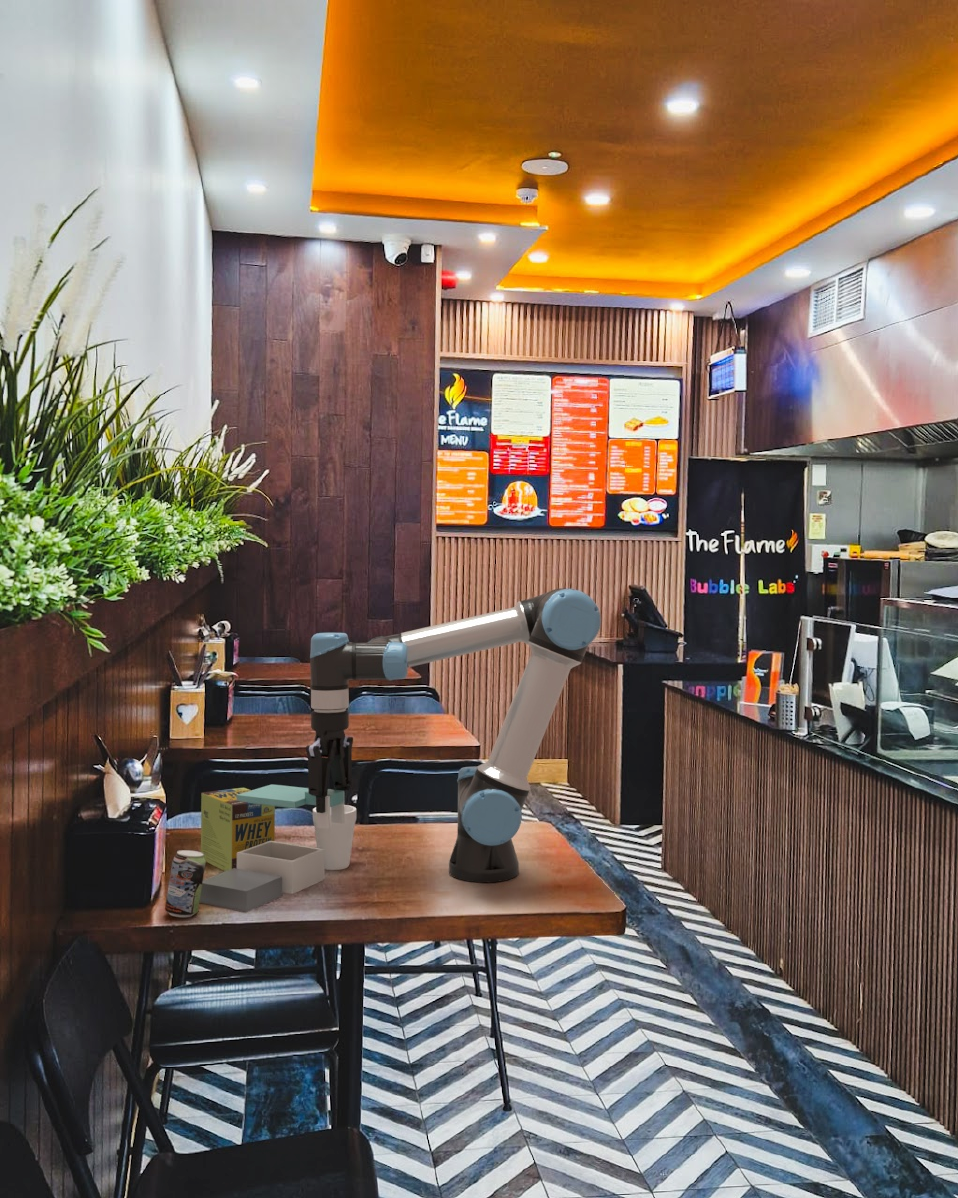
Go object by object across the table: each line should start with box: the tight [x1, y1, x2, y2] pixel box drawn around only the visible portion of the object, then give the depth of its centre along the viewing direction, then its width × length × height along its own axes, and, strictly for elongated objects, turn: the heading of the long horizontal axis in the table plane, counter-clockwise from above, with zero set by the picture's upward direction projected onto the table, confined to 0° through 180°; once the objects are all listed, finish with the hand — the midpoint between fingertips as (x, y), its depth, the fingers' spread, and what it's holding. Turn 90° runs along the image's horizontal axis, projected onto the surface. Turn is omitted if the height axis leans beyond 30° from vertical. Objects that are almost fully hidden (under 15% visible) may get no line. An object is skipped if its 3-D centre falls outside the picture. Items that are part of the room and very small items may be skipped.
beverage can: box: [164, 849, 207, 918], centre depth 198 cm, size 6×7×12 cm
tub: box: [237, 840, 325, 895], centre depth 218 cm, size 14×11×7 cm
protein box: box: [200, 787, 276, 872], centre depth 232 cm, size 10×15×16 cm
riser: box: [199, 868, 283, 913], centre depth 207 cm, size 12×11×4 cm
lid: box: [237, 784, 344, 809], centre depth 216 cm, size 21×12×3 cm, turn 64°
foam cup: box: [312, 804, 357, 871], centre depth 230 cm, size 10×9×13 cm
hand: (330, 825), depth 213 cm, fingers closed on lid, 4 cm apart
